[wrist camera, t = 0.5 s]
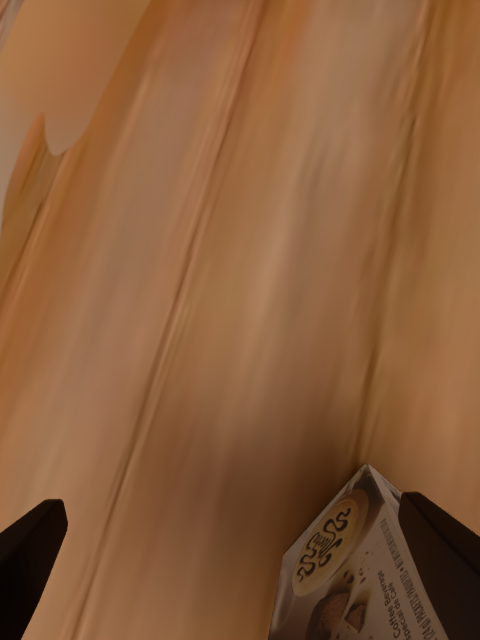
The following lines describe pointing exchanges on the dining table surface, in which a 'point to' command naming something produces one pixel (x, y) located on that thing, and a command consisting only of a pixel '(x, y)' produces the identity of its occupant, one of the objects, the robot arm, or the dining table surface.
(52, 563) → the robot arm
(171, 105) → the dining table surface
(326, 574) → the coffee box
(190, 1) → the dining table surface
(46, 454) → the dining table surface
